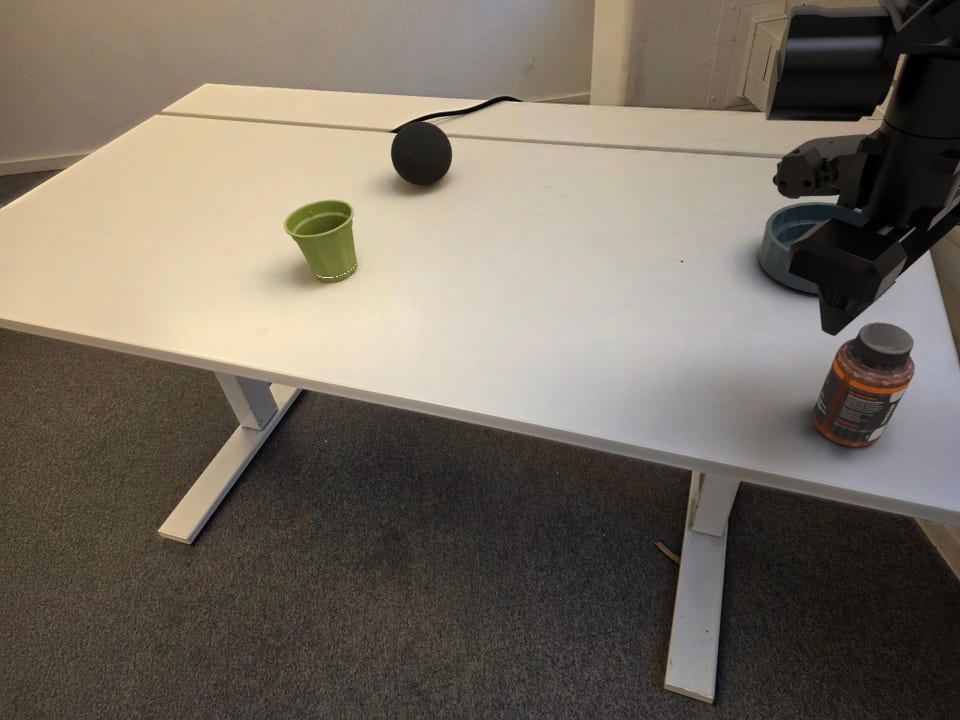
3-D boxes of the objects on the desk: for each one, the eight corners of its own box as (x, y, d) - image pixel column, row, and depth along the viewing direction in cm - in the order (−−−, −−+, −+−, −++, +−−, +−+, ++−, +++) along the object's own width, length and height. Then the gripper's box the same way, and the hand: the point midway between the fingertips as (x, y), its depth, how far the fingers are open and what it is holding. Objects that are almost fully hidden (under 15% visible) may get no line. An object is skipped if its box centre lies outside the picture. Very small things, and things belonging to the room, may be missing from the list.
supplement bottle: (892, 448, 55) (944, 360, 48) (824, 451, 56) (864, 365, 48) (864, 399, 60) (907, 311, 52) (801, 403, 60) (834, 316, 52)
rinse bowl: (870, 240, 78) (884, 206, 74) (880, 305, 69) (896, 269, 66) (759, 231, 82) (767, 198, 78) (755, 290, 73) (764, 256, 70)
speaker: (402, 202, 98) (389, 143, 92) (394, 175, 106) (381, 118, 99) (461, 189, 99) (453, 129, 92) (449, 163, 107) (440, 106, 100)
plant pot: (302, 260, 89) (282, 208, 83) (364, 245, 90) (349, 192, 84) (305, 297, 83) (284, 243, 77) (373, 280, 84) (357, 225, 78)
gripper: (877, 54, 48) (823, 225, 59) (739, 140, 41) (706, 317, 51) (1046, 83, 41) (950, 269, 52) (917, 191, 34) (836, 383, 45)
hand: (858, 305), depth 50 cm, fingers open, 9 cm apart
